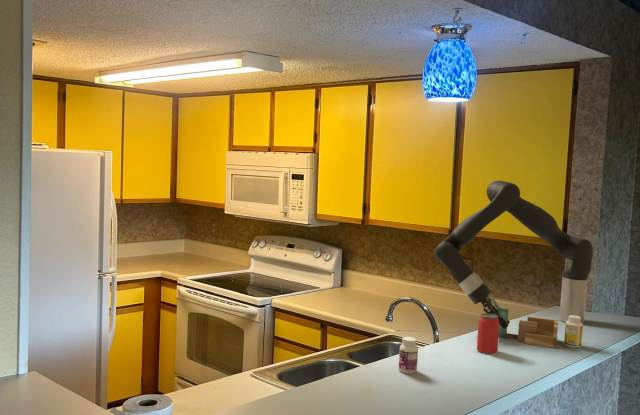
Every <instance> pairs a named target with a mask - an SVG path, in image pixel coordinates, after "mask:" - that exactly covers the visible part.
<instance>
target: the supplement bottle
mask: <svg viewBox="0 0 640 415" xmlns="http://www.w3.org/2000/svg"><path fill="white" fill-rule="evenodd" d="M583 328H584V323H581V317H579V316H575V315H569V316H568V321H566V322H565V325H564V338H563V339H564V340H563V344H564V346H566V347H569V348H572V349H576V348H578V349H579V348H581V347H582V342H583Z"/></svg>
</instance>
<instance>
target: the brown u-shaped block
mask: <svg viewBox="0 0 640 415" xmlns="http://www.w3.org/2000/svg"><path fill="white" fill-rule="evenodd" d="M526 321H532V322H538V326H537V334H530V333H525V342H524V344H526V345H532V346H533V345H534V346H538V347H545V348H551V349H557V341H558V330H559V327H558V326H559V320H558V319H551V318H541V317H537V316H535V317H533V316H527V319H526Z"/></svg>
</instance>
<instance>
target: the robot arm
mask: <svg viewBox="0 0 640 415" xmlns="http://www.w3.org/2000/svg"><path fill="white" fill-rule="evenodd" d="M486 196H487V199H488V200H489V201H490V202H489V203H488V204H487V205H486V206H484V207H482V208H481V209H479V210H478V211H475V213H472V214H471V215H469V216H467V217H466V218H464V220H463V221H461V222H460V223H459V224H458V225H457V226H456V227H455V228H454V229H453V230H452V232H451V233H450V234H449V235H448V236H447V237H446V238H444V240H442V241H441V242H440V243H438V245H437V246H435V248H434V251H433V257H434V259H435V261H436V262H438V263H440V264H444V266H445V267H446V268H447V269H448V271H449V273H450V275H451V277H452V278H453V279H454V280H455V282H456V283H457V284H458V285H459V287H460V288H461V290H462V291H463V292H464V294H466V296H467V297H468V298H469V299H470V301H471V302H472V303H473V304H474V305H478V304H479V303H481V305H482V309H483V311H484V312H485V313H489V314H495V315H497V316H498V319H499V324H500V325H501V326H502V328H503V329H505V328H507V329H508V327H509V325H510V320H509V319H508V322H506V321H505V320H504V319H503V317H502V316H501V315H500V314H499V312H498V311H499V310H498V309H497V307H500V305H499V304H498V303H497V301H496V300H495V298H493V297H492V298H491V297H489V295H490V294H491V293H492V290H491V289H490V288H489V287H488V286H487V284H486V283H485V282H484V281H483V280H482V279H481V277H480V276H479V275H478V274H477V273H475V271H474V270H473V269H472V268H471V267H470V265H468V263H466V262H465V260H464V258H463V256H462V255H461V254H460V251H461V250H462V249H463V248H464V247H465V246H466V245H468V244H469V243H470V242H471V241H472V240H473V239H474V238H476V236H477V235H478V234H479V233H480V232H481V231H482V230H483V229H484V228H486V227H487V226H488V225H489V224H490V223H492V222H493V221H495V220H496V219H497V218H499V217H500V216H501V215H502V214H504V213H506V212H507V213H509V214H510V215H511V216H512V217H514V219H516V220H517V221H518V222H519V223H521V224H522V225H523V226H524V227H526V228H527V229H528V230H529V231H531V232H532V233H533V234H535V235H536V236H538V237H539V238H540V239H541V240H543V241H545V242H547V243H548V244H549V245H550V246H551V247H553V248H554V249H555V250H556V251H557V252H558V253H559V254H560V255H561V256H562V257H563V258H565V259H566V260H570V261H571V266H570V267H569V268H565V269H563V270H562V277H561V278H562V280H561V290H560V291H561V293H560V303H559V315H558V318H559V320H558V321H561V322H565V323H566V321H568V316H569V315H575V316H579V317H581V323H582V324H584V323H585V317H586V316H585V314H586V304H587V292H588V291H587V290H588V278H589V274H590V272H591V269H592V261H593V253H594V250H593V249H594V248H593V244H592V242H591V241H590V240H588V239H585V238H581V237H575V236H572V235H570V234H568V233H566V232H565V231H563V230H562V229H561V228H560V227H559V224H558V221H557V220H556V219H555V218H554V216H553V215H551V214H550V213H549V212H547V211H546V210H545V209H543V208H542V207H540V206H538V205H536V204H534V203H533V202H530V201H528V200H526V199H524V198H522V197H521V190H520V188H519V186H518V185H517V184H515V183H513V182H509V181H505V180H494V181H492V182H490V183H489V184H488V185H487V188H486Z"/></svg>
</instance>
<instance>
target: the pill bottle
mask: <svg viewBox="0 0 640 415" xmlns="http://www.w3.org/2000/svg"><path fill="white" fill-rule="evenodd" d="M401 341H402V344H400V346H399V354H398V371H399V372H400V373H403V374H409V375H410V374H414V373H415V374H416V372H417V370H418V357H419V347H418V346H417V339H416V338H415V337H413V336H404V337H402V340H401Z"/></svg>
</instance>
